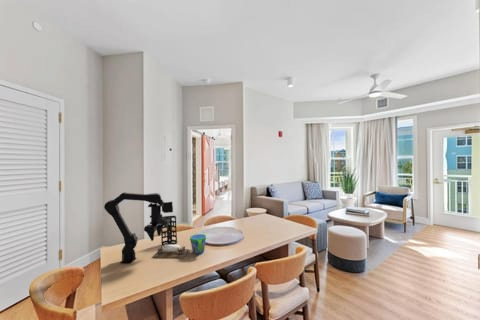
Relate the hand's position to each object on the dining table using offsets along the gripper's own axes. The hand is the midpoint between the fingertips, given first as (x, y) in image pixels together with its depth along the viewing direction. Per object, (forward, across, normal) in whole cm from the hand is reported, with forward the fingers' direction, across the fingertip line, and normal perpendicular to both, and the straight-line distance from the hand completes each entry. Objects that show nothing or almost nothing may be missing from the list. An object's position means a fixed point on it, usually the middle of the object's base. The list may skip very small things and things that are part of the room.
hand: (155, 238), depth 136 cm
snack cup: (+11, +8, -26) cm, 29 cm away
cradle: (+12, +4, -9) cm, 15 cm away
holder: (+12, +22, 0) cm, 25 cm away
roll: (+10, +4, -9) cm, 14 cm away
